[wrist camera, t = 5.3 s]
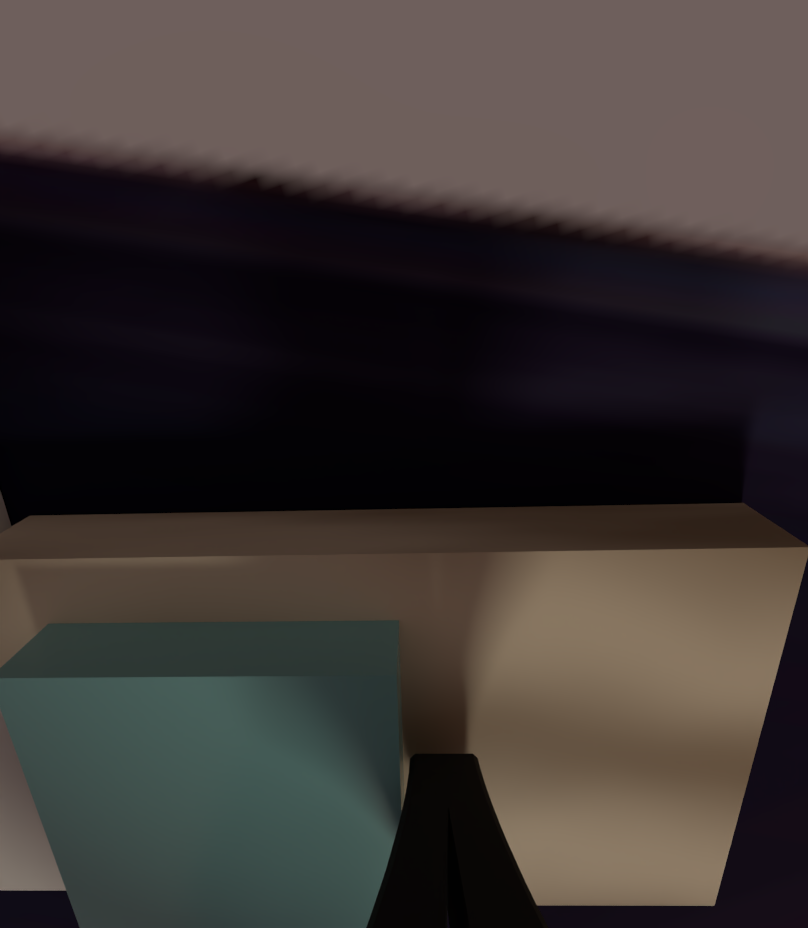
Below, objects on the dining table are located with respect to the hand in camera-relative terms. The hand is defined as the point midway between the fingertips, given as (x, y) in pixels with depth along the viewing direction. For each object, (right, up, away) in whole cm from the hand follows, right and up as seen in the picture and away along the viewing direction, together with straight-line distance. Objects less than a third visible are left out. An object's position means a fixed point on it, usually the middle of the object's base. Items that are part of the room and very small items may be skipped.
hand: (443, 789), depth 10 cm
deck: (-1, +1, +3) cm, 3 cm away
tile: (-4, 0, +1) cm, 4 cm away
